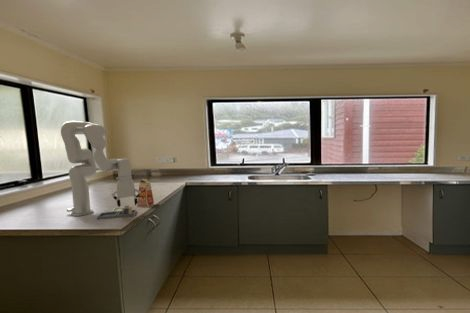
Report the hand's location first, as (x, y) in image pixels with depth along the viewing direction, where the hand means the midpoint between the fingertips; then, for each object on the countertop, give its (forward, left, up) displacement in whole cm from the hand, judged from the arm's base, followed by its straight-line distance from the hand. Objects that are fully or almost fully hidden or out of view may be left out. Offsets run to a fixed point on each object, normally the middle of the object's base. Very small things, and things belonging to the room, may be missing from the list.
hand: (127, 205), depth 169 cm
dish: (-6, +11, -6) cm, 14 cm away
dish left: (-12, 0, -6) cm, 13 cm away
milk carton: (+8, +21, -6) cm, 24 cm away
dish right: (-1, 0, -6) cm, 6 cm away
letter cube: (-1, 0, -6) cm, 6 cm away
